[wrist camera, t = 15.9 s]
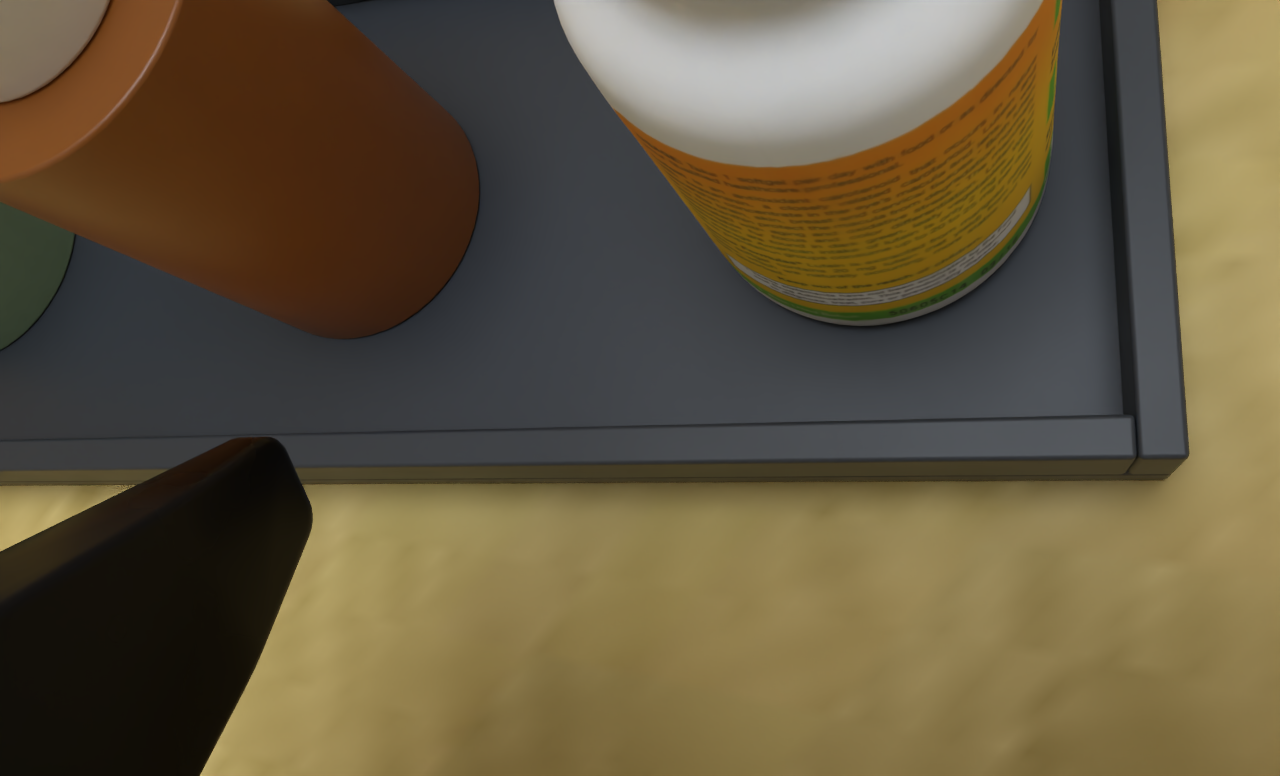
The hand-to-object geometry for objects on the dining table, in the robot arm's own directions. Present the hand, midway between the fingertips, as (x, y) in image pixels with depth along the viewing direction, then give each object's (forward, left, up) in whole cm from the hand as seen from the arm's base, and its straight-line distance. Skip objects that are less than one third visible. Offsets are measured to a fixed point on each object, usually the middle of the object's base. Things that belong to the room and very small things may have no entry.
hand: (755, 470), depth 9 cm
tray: (-6, +10, -8) cm, 14 cm away
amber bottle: (-6, +10, -8) cm, 14 cm away
